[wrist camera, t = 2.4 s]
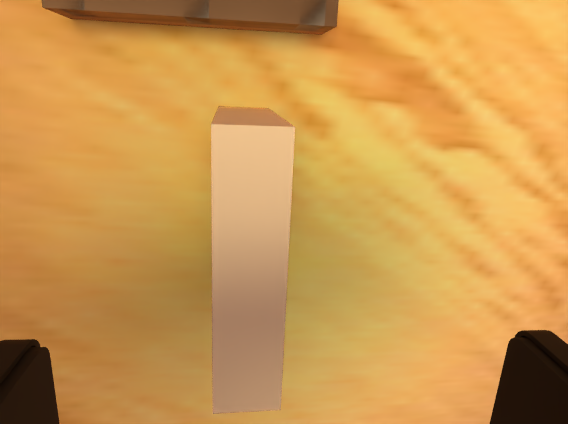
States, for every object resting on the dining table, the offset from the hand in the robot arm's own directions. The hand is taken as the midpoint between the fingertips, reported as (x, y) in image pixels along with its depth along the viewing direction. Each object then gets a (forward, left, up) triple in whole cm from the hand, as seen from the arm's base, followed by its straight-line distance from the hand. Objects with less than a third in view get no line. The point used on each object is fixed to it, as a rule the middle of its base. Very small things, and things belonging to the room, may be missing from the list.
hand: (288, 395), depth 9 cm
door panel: (0, +1, -14) cm, 14 cm away
